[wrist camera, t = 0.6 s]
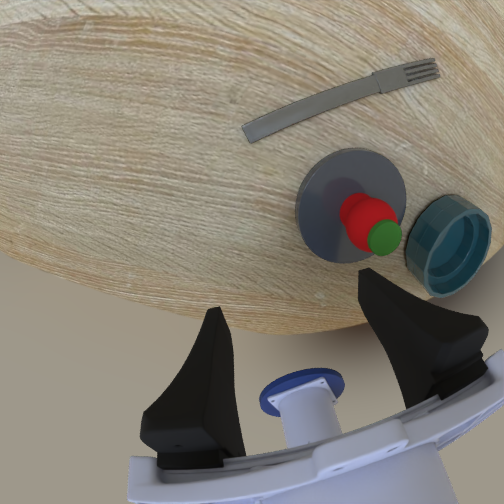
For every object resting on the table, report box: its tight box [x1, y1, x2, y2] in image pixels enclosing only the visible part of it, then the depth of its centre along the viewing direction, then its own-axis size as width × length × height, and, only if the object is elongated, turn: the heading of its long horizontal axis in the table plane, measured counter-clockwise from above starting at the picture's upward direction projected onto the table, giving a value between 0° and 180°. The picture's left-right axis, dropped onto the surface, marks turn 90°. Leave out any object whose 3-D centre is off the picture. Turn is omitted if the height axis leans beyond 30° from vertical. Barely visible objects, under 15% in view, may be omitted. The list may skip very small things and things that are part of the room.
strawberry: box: [340, 193, 402, 256], centre depth 20 cm, size 4×4×5 cm
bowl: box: [406, 195, 492, 298], centre depth 24 cm, size 10×10×4 cm
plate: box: [295, 148, 406, 263], centre depth 22 cm, size 10×10×1 cm
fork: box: [241, 58, 440, 144], centre depth 17 cm, size 18×2×1 cm, turn 116°
